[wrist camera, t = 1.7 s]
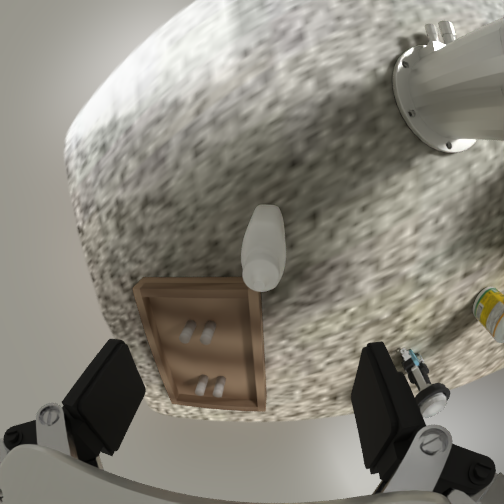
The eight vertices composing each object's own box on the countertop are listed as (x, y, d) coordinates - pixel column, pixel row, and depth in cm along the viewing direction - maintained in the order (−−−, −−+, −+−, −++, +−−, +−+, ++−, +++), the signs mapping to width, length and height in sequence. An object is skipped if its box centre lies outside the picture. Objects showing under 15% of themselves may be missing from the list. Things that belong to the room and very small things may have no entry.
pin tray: (143, 277, 31) (125, 294, 27) (260, 276, 29) (256, 296, 25) (177, 389, 38) (169, 410, 33) (266, 396, 36) (264, 419, 32)
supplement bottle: (467, 305, 28) (502, 344, 19) (489, 278, 26) (528, 311, 17) (477, 322, 29) (508, 359, 20) (498, 297, 27) (533, 330, 18)
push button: (385, 357, 32) (406, 411, 23) (416, 334, 30) (445, 384, 21) (403, 377, 33) (422, 426, 24) (430, 356, 32) (456, 403, 22)
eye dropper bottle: (235, 243, 28) (207, 302, 17) (262, 196, 26) (250, 228, 15) (271, 263, 29) (266, 333, 17) (300, 218, 27) (315, 266, 15)
